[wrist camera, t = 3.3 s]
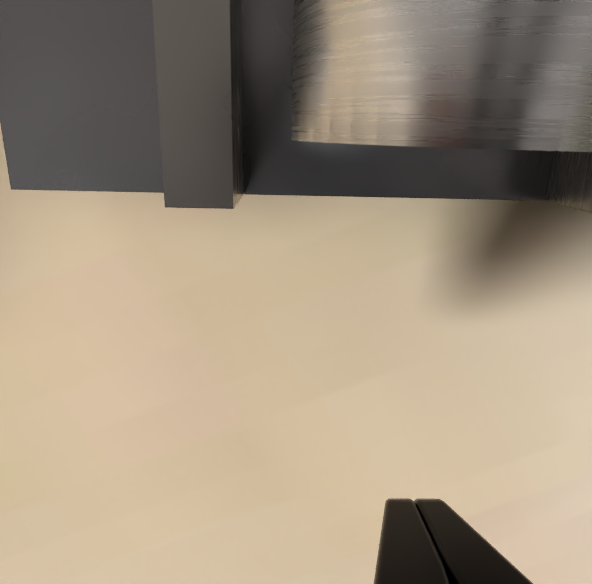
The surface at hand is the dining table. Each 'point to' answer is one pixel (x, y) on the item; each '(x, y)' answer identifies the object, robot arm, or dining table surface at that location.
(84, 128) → the vise clamping cylinder
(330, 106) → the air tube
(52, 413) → the dining table surface
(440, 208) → the dining table surface
